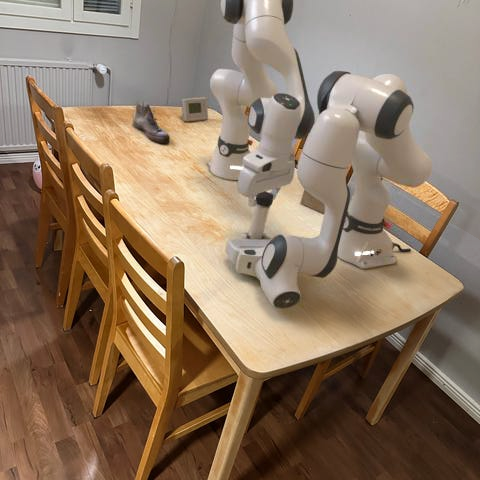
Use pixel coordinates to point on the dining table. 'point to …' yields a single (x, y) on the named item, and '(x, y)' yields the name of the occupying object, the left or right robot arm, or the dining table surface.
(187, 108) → the digital clock
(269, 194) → the lid
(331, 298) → the dining table surface
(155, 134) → the shoe
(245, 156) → the left robot arm
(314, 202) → the wooden block
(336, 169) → the right robot arm
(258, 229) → the beige cylindrical bottle
